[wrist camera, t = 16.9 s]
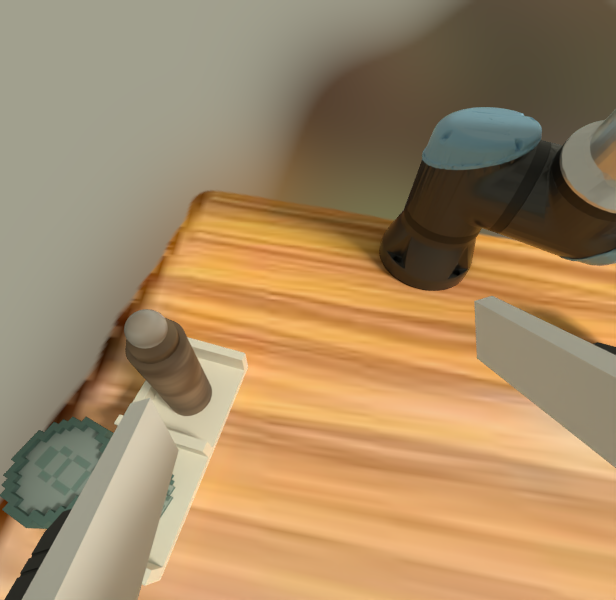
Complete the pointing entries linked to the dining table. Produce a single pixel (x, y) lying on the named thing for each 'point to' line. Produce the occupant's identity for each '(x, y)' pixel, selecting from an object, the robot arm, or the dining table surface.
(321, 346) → the dining table surface
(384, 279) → the dining table surface
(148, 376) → the pepper mill
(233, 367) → the caddy
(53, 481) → the can
